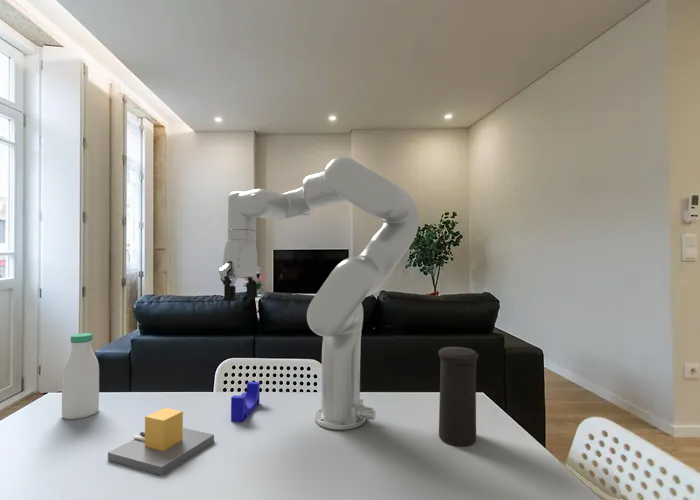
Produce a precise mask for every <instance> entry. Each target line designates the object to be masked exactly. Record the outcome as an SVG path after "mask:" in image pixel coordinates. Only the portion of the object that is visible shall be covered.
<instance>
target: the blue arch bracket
mask: <svg viewBox="0 0 700 500" xmlns="http://www.w3.org/2000/svg"><path fill="white" fill-rule="evenodd" d="M260 389H261V383H260V381H248V382H247V383H246V392H242V393H241V394H240V395H233V396H231V397H230V421H231V422H234V423H243V422H245V420H246V419H247V418H248V417H249V416H250V415H251V414H252V413H253V411H254V410H255V409H256V408H257V407H258V406H259V404H260V399H261V398H260V397H261V396H260V394H261V393H260V391H261V390H260Z"/></svg>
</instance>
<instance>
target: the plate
mask: <svg viewBox="0 0 700 500" xmlns="http://www.w3.org/2000/svg"><path fill="white" fill-rule="evenodd" d="M132 438H133V439H132V440H130V441H128V442H126V443H124V444H122V445H120V446H118V447H117V448H114V449H112V450H110V451H108V452H107V461H110V462H114V463H116V464H120V465H124V466H128V467H131V468H134V469H138V470H141V471H146V472H148V473H151V474H155V475H159V476H164V474H166V473H167V472H169V471H171V470H172V469H174V468H176V467H177V466H179V465H180V464H182V463H183V462H185V461H186V460H188V459H189V458H191V457H192V456H194V455H195V454H197V453H199V452H200V451H201V450H202V451H203V449H204V448H206V447H208V446H210V445H211V444H213V443H215V434H213V433H208V432H204V431H200V430H194V429H189V428H186V427H183V438H182V441H180V442H178V443H176V444H175V445H173V446H171V447H169V448H168V449H166V450H164V451H161V450H157V449H153V448H149V447H146V446H145V431H140V432H139V435H136V434H135V435H133V436H132Z"/></svg>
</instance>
